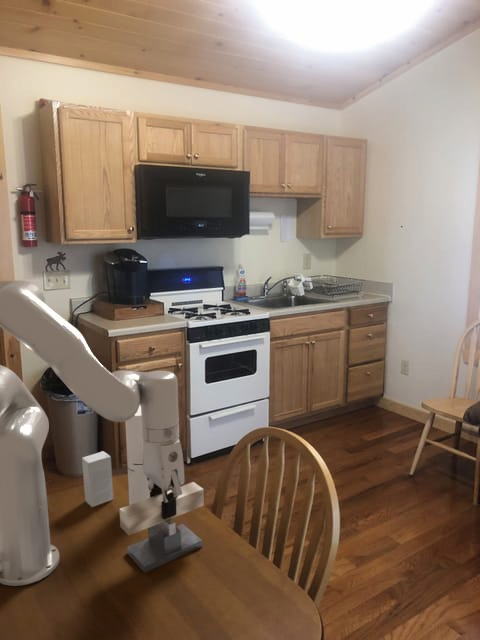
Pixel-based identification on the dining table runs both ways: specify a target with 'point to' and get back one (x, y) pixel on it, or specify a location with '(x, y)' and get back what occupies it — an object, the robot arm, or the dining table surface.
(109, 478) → the skincare box
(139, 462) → the cylindrical container
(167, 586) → the dining table surface
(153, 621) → the dining table surface
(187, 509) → the ash bar
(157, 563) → the fulcrum stand
